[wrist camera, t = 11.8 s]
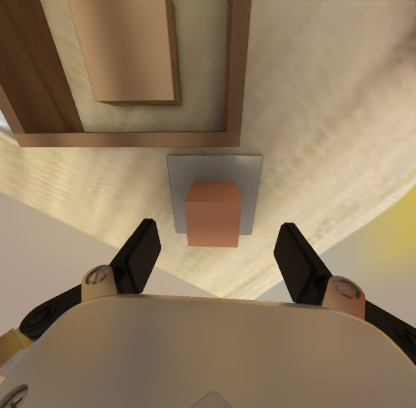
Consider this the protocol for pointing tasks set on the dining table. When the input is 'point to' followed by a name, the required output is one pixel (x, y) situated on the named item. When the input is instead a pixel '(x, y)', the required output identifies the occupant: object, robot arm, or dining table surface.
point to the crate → (108, 71)
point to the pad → (215, 171)
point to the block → (213, 214)
